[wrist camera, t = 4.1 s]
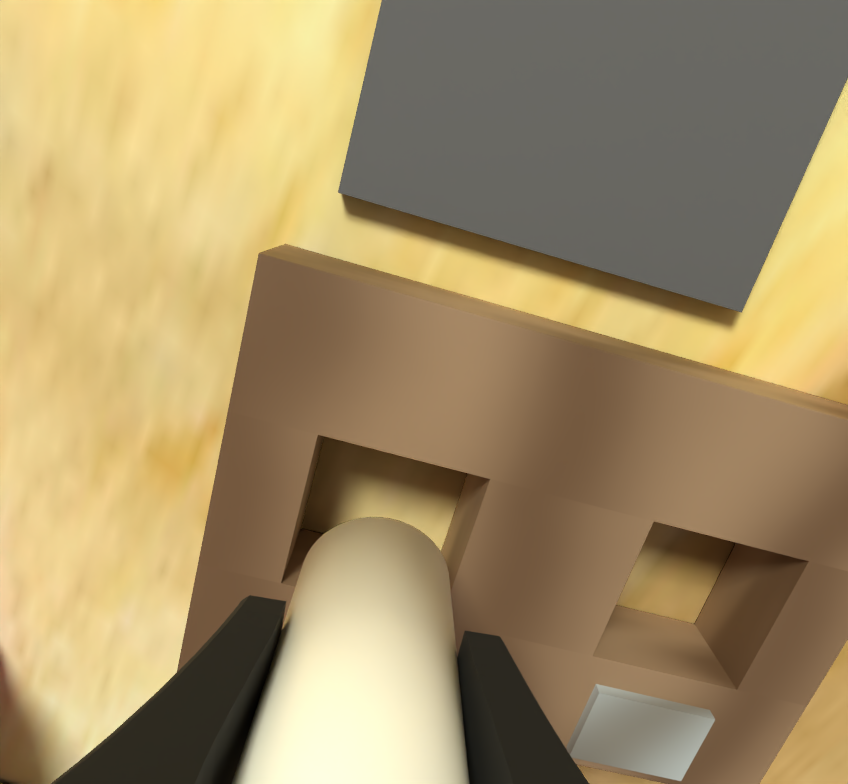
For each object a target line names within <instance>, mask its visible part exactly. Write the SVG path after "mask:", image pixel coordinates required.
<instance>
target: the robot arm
mask: <svg viewBox="0 0 848 784" xmlns="http://www.w3.org/2000/svg"><path fill="white" fill-rule="evenodd" d="M285 606H286V601H282V600H276V599H270V598H264V597H258V596H251V595H249V596H248V597H246V598H244V599H243V600H242V601H241V602H240V603H239V604H238V606H237V607H236V608H235V610H234V611H233V612H232V613H231V614H230V616H229V617H228V618H227V619H226V620H225V622H224V623H223V624H222V625H221V626H220V627H219V629H218V630H217V631H216V632H215V633H214V634H213V635H212V636H211V637H210V639H209V640H208V641H207V642H206V643H205V644H204V645H203V646H202V647H201V648H200V649H199V651H198V652H197V653H196V654H195V655H194V656H193V657H192V658H191V659H190V660H189V661H188V662H187V663H186V664H185V665H184V666H183V667H182V668H181V669H180V670H179V671H178V672H177V673H176V674H175V675H174V676H173V677H172V678H171V679H170V680H169V681H168V682H167V683H166V684H165V685H164V686H163V687H162V688H161V689H160V690H159V691H158V692H157V693H156V694H155V695H154V696H153V697H151V698H150V699H149V700H148V701H147V702H146V703H145V704H144V705H143V706H142V707H140V708H139V709H138V710H137V711H136V712H135V713H134V714H133V715H132V716H131V717H130V718H128V719H127V720H126V721H125V722H124V723H123V724H122V725H121V726H120V727H119V728H117V729H116V730H115V731H114V732H113V733H112V734H111V735H110V736H108V737H107V738H106V739H105V740H104V741H103V742H101V743H100V744H99V745H98V746H97V747H96V748H94V749H93V750H92V751H91V752H90V753H88V754H87V755H86V756H85V757H84V758H82V759H81V760H80V761H79V762H77V763H76V764H75V765H74V766H73V767H71V768H70V769H69V770H68V771H66V772H65V773H64V774H62V775H61V776H60V777H59V778H57V779H56V780H55V781H54V782H52V783H51V784H232V781H233V778H234V775H235V772H236V769H237V766H238V763H239V760H240V757H241V754H242V750H243V747H244V744H245V741H246V738H247V735H248V732H249V729H250V726H251V723H252V720H253V716H254V713H255V710H256V707H257V704H258V701H259V698H260V695H261V692H262V689H263V686H264V683H265V680H266V677H267V675H268V671H269V668H270V665H271V662H272V659H273V656H274V653H275V650H276V647H277V644H278V641H279V637H280V634H281V631H282V625H283V619H284V613H285ZM457 662H458V672H459V682H460V693H461V703H462V713H463V723H464V734H465V744H466V754H467V764H468V775H469V784H589V783H588V782H587V780H586V779H585V777H584V776H583V774H582V773H581V771H580V770H579V768H578V767H577V765H576V763H575V762H574V760H573V759H572V757H571V756H570V754H569V753H568V751H567V749H566V748H565V746H564V745H563V743H562V741H561V740H560V738H559V737H558V735H557V733H556V732H555V730H554V729H553V727H552V725H551V724H550V722H549V721H548V719H547V717H546V716H545V714H544V712H543V711H542V709H541V707H540V705H539V704H538V702H537V700H536V699H535V697H534V695H533V693H532V692H531V690H530V688H529V686H528V685H527V683H526V681H525V679H524V678H523V676H522V674H521V672H520V670H519V669H518V667H517V665H516V663H515V661H514V660H513V658H512V656H511V654H510V652H509V651H508V649H507V647H506V645H505V643H504V642H503V640H502V639H501V637H500V636H496V635H490V634H484V633H478V632H471V631H464V634H463V638H462V642H461V645H460V649H459V653H458V657H457Z"/></svg>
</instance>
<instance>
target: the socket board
mask: <svg viewBox="0 0 848 784" xmlns="http://www.w3.org/2000/svg"><path fill="white" fill-rule="evenodd" d="M324 436H325V437H329V438H333V439H337V440H341V441H344V442H348V443H352V444H356V445H360V446H364V447H368V448H372V449H375V450H379V451H383V452H387V453H391V454H395V455H399V456H403V457H406V458H410V459H414V460H418V461H422V462H426V463H430V464H434V465H437V466H441V467H445V468H449V469H453V470H457V471H461V472H465V473H468V474H467V476H466V479H465V482H464V485H463V488H462V491H461V494H460V497H459V500H458V503H457V506H456V509H455V512H454V515H453V518H452V521H451V524H450V527H449V530H448V533H447V536H446V539H445V542H444V544H443V547H442V550H441V553H442V555H443V557H444V559H445V562H446V564H447V568H448V572H449V580H450V590H451V600H452V610H453V621H454V631H455V641H456V651H457V657H458V653H459V649H460V645H461V642H462V638H463V634H464V631H471V632H478V633H484V634H490V635H496V636H500V637H501V639H502V640H503V642H504V643H505V645H506V647H507V649H508V651H509V652H510V654H511V656H512V658H513V660H514V661H515V663H516V665H517V667H518V669H519V670H520V672H521V674H522V676H523V678H524V679H525V681H526V683H527V685H528V686H529V688H530V690H531V692H532V693H533V695H534V697H535V699H536V700H537V702H538V704H539V705H540V707H541V709H542V711H543V712H544V714H545V716H546V717H547V719H548V721H549V722H550V724H551V725H552V727H553V729H554V730H555V732H556V733H557V735H558V737H559V738H560V740H561V741H562V743H563V745H564V746H565V748H566V749H567V751H568V753H569V754H570V756H571V757H572V759H573V760H574V762H575V763H576V764H577V765H582V766H587V767H591V768H596V769H601V770H605V771H610V772H615V773H619V774H624V775H629V776H633V777H638V778H643V779H647V780H652V781H657V782H661V783H666V784H760V782H761V780H762V779H763V777H764V775H765V774H766V772H767V770H768V769H769V767H770V766H771V764H772V762H773V761H774V759H775V757H776V756H777V754H778V752H779V751H780V749H781V748H782V746H783V744H784V743H785V741H786V739H787V738H788V736H789V734H790V733H791V731H792V730H793V728H794V726H795V725H796V723H797V721H798V720H799V718H800V716H801V715H802V713H803V712H804V710H805V708H806V707H807V705H808V703H809V702H810V700H811V698H812V697H813V695H814V694H815V692H816V690H817V689H818V687H819V685H820V684H821V682H822V680H823V679H824V677H825V676H826V674H827V672H828V671H829V669H830V667H831V666H832V664H833V663H834V661H835V659H836V658H837V656H838V654H839V653H840V651H841V649H842V648H843V646H844V645H845V643H846V641H847V640H848V405H846V404H842V403H839V402H835V401H832V400H828V399H825V398H821V397H818V396H814V395H811V394H807V393H804V392H800V391H797V390H793V389H790V388H786V387H783V386H779V385H776V384H772V383H769V382H765V381H762V380H759V379H755V378H752V377H748V376H745V375H741V374H738V373H734V372H731V371H727V370H724V369H720V368H717V367H713V366H710V365H706V364H703V363H699V362H696V361H692V360H689V359H685V358H682V357H678V356H675V355H671V354H668V353H664V352H661V351H657V350H654V349H650V348H647V347H643V346H640V345H636V344H633V343H629V342H626V341H622V340H619V339H615V338H612V337H608V336H605V335H601V334H598V333H594V332H591V331H587V330H584V329H580V328H577V327H574V326H570V325H567V324H563V323H560V322H556V321H553V320H549V319H546V318H542V317H539V316H535V315H532V314H528V313H525V312H521V311H518V310H514V309H511V308H507V307H504V306H500V305H497V304H493V303H490V302H486V301H483V300H479V299H476V298H472V297H469V296H465V295H462V294H458V293H455V292H451V291H448V290H444V289H441V288H437V287H434V286H430V285H427V284H423V283H420V282H416V281H413V280H409V279H406V278H402V277H399V276H395V275H392V274H388V273H385V272H382V271H378V270H375V269H371V268H368V267H364V266H361V265H357V264H354V263H350V262H347V261H343V260H340V259H336V258H333V257H329V256H326V255H322V254H319V253H315V252H312V251H308V250H305V249H301V248H298V247H294V246H291V245H287V244H284V245H281V246H278V247H275V248H272V249H269V250H267V251H264V252H261V253H259V255H258V260H257V265H256V271H255V276H254V281H253V286H252V291H251V296H250V301H249V306H248V311H247V317H246V322H245V327H244V332H243V337H242V342H241V347H240V352H239V357H238V363H237V368H236V373H235V378H234V383H233V388H232V393H231V398H230V404H229V409H228V414H227V419H226V424H225V429H224V434H223V439H222V444H221V450H220V455H219V460H218V465H217V470H216V475H215V480H214V485H213V490H212V496H211V501H210V506H209V511H208V516H207V521H206V526H205V531H204V536H203V542H202V547H201V552H200V557H199V562H198V567H197V572H196V577H195V583H194V588H193V593H192V598H191V603H190V608H189V613H188V618H187V623H186V629H185V634H184V639H183V644H182V649H181V654H180V659H179V664H178V669H177V672H178V671H179V670H180V669H181V668H182V667H183V666H184V665H185V664H186V663H187V662H188V661H189V660H190V659H191V658H192V657H193V656H194V655H195V654H196V653H197V652H198V651H199V649H200V648H201V647H202V646H203V645H204V644H205V643H206V642H207V641H208V640H209V639H210V637H211V636H212V635H213V634H214V633H215V632H216V631H217V630H218V629H219V627H220V626H221V625H222V624H223V623H224V622H225V620H226V619H227V618H228V617H229V616H230V614H231V613H232V612H233V611H234V610H235V608H236V607H237V606H238V604H239V603H240V602H241V601H242V600H243V599H244V598H246V597H248V596H249V595H251V596H258V597H264V598H270V599H276V600H282V601H286V606H285V613H284V619H283V624H284V621H285V618H286V615H287V612H288V608H289V605H290V602H291V599H292V596H293V593H294V590H295V587H296V584H297V581H298V578H299V575H300V571H301V568H302V565H303V562H304V560H305V558H306V555H307V553H308V552H309V550H310V549H311V547H312V546H313V545H314V543H315V542H316V541H317V540H318V539H319V538H320V537H321V536H322V535H323V534H321V533H317V532H313V531H309V530H305V529H301V526H302V522H303V518H304V514H305V510H306V506H307V502H308V498H309V494H310V490H311V486H312V482H313V478H314V474H315V470H316V466H317V462H318V458H319V454H320V450H321V446H322V442H323V438H324ZM653 522H658V523H662V524H666V525H670V526H674V527H678V528H682V529H685V530H689V531H693V532H697V533H701V534H705V535H709V536H713V537H716V538H720V539H724V540H728V541H732V542H736V544H735V546H734V548H733V550H732V552H731V554H730V556H729V558H728V560H727V562H726V564H725V566H724V568H723V569H722V571H721V573H720V575H719V577H718V579H717V581H716V583H715V585H714V587H713V589H712V591H711V593H710V595H709V597H708V599H707V601H706V603H705V605H704V607H703V609H702V611H701V613H700V614H699V616H698V618H697V620H696V622H695V624H692V623H688V622H684V621H680V620H675V619H671V618H667V617H663V616H659V615H655V614H651V613H647V612H642V611H638V610H634V609H630V608H626V607H622V606H618V605H616V603H617V601H618V599H619V597H620V595H621V592H622V590H623V588H624V586H625V584H626V581H627V579H628V577H629V575H630V573H631V570H632V568H633V566H634V564H635V562H636V559H637V557H638V555H639V553H640V551H641V548H642V546H643V544H644V542H645V540H646V538H647V535H648V533H649V531H650V529H651V527H652V524H653ZM282 627H283V625H282Z"/></svg>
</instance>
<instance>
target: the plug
mask: <svg viewBox="0 0 848 784" xmlns="http://www.w3.org/2000/svg"><path fill="white" fill-rule="evenodd" d="M232 784H469V775H468V764H467V754H466V744H465V734H464V723H463V713H462V703H461V693H460V682H459V672H458V662H457V651H456V641H455V631H454V621H453V610H452V600H451V590H450V580H449V572H448V568H447V564H446V562H445V559H444V557H443V555H442V553H441V552H440V550H439V549H438V547H437V546H436V545H435V544H434V542H433V541H432V540H431V539H430V538H429V537H427V536H426V535H425V534H424V533H422V532H421V531H420V530H418V529H416V528H415V527H413V526H411V525H409V524H406V523H404V522H401V521H398V520H394V519H390V518H382V517H366V518H359V519H354V520H350V521H347V522H344V523H342V524H339V525H338V526H336V527H334V528H332V529H330V530H329V531H327V532H326V533H325V534H323V535H322V536H321V537H320V538H319V539H318V540H317V541H316V542H315V543H314V545H313V546H312V547H311V549H310V550H309V552H308V553H307V555H306V558H305V560H304V562H303V565H302V568H301V571H300V575H299V578H298V581H297V584H296V587H295V590H294V593H293V596H292V599H291V602H290V605H289V608H288V612H287V615H286V618H285V621H284V624H283V627H282V631H281V634H280V637H279V641H278V644H277V647H276V650H275V653H274V656H273V659H272V662H271V665H270V668H269V671H268V675H267V677H266V680H265V683H264V686H263V689H262V692H261V695H260V698H259V701H258V704H257V707H256V710H255V713H254V716H253V720H252V723H251V726H250V729H249V732H248V735H247V738H246V741H245V744H244V747H243V750H242V754H241V757H240V760H239V763H238V766H237V769H236V772H235V775H234V778H233V781H232Z"/></svg>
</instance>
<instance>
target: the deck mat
mask: <svg viewBox="0 0 848 784" xmlns="http://www.w3.org/2000/svg"><path fill="white" fill-rule="evenodd" d="M847 78H848V0H382V2H381V7H380V11H379V15H378V20H377V24H376V29H375V33H374V37H373V42H372V46H371V50H370V55H369V59H368V64H367V68H366V72H365V77H364V81H363V85H362V90H361V94H360V99H359V103H358V107H357V112H356V116H355V120H354V125H353V129H352V134H351V138H350V142H349V147H348V151H347V155H346V160H345V164H344V169H343V173H342V177H341V182H340V186H339V190H338V193H341V194H345V195H348V196H351V197H355V198H358V199H362V200H365V201H368V202H372V203H375V204H378V205H382V206H385V207H388V208H392V209H395V210H399V211H402V212H405V213H409V214H412V215H415V216H419V217H422V218H426V219H429V220H432V221H436V222H439V223H442V224H446V225H449V226H452V227H456V228H459V229H463V230H466V231H469V232H473V233H476V234H479V235H483V236H486V237H489V238H493V239H496V240H500V241H503V242H506V243H510V244H513V245H516V246H520V247H523V248H527V249H530V250H533V251H537V252H540V253H543V254H547V255H550V256H553V257H557V258H560V259H564V260H567V261H570V262H574V263H577V264H580V265H584V266H587V267H591V268H594V269H597V270H601V271H604V272H607V273H611V274H614V275H617V276H621V277H624V278H628V279H631V280H634V281H638V282H641V283H644V284H648V285H651V286H655V287H658V288H661V289H665V290H668V291H671V292H675V293H678V294H681V295H685V296H688V297H692V298H695V299H698V300H702V301H705V302H708V303H712V304H715V305H719V306H722V307H725V308H729V309H732V310H735V311H739V312H742V310H743V308H744V306H745V304H746V302H747V299H748V297H749V295H750V293H751V291H752V288H753V286H754V284H755V282H756V280H757V277H758V275H759V273H760V271H761V268H762V266H763V264H764V262H765V260H766V257H767V255H768V253H769V251H770V249H771V246H772V244H773V242H774V240H775V238H776V235H777V233H778V231H779V229H780V226H781V224H782V222H783V220H784V218H785V215H786V213H787V211H788V209H789V207H790V204H791V202H792V200H793V198H794V196H795V193H796V191H797V189H798V187H799V184H800V182H801V180H802V178H803V176H804V173H805V171H806V169H807V167H808V165H809V162H810V160H811V158H812V156H813V154H814V151H815V149H816V147H817V145H818V142H819V140H820V138H821V136H822V134H823V131H824V129H825V127H826V125H827V123H828V120H829V118H830V116H831V114H832V112H833V109H834V107H835V105H836V103H837V100H838V98H839V96H840V94H841V92H842V89H843V87H844V85H845V83H846V81H847Z"/></svg>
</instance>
